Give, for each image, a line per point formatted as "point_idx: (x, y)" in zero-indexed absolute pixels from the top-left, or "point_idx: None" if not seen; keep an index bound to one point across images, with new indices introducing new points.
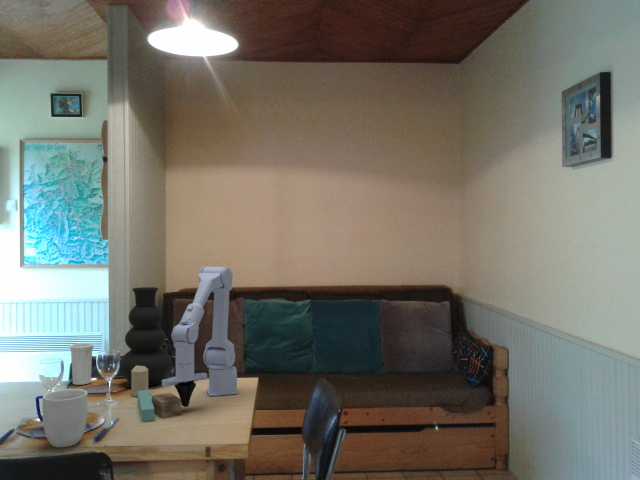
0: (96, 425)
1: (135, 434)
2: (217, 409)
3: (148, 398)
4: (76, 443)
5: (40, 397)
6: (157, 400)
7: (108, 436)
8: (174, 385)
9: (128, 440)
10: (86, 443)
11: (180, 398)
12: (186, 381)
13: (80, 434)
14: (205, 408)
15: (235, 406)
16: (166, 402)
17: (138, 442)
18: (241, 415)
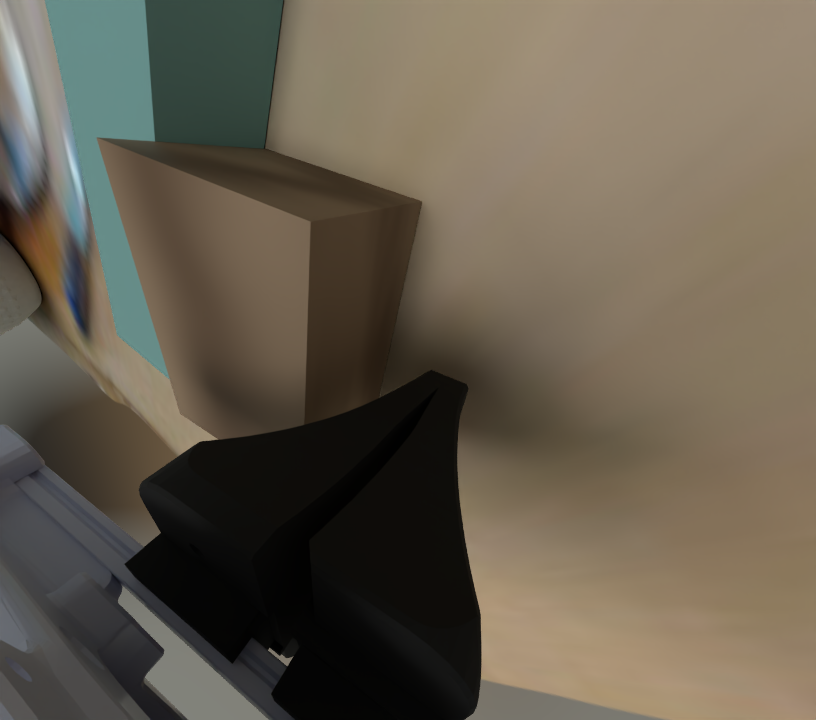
0: (27, 157)
1: (168, 393)
2: (619, 571)
3: (123, 35)
4: (39, 305)
5: None
6: (164, 328)
7: (102, 329)
8: (189, 453)
9: (154, 407)
10: (64, 321)
11: (388, 398)
12: (273, 709)
13: (9, 328)
14: (594, 492)
15: (792, 676)
16: (211, 427)
17: (175, 440)
18: (577, 678)
